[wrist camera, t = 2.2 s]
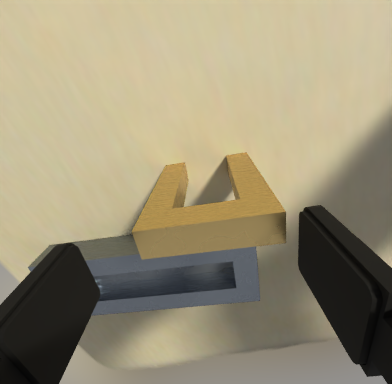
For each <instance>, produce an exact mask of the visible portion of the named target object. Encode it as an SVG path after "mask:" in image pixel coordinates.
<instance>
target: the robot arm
mask: <svg viewBox="0 0 392 384" xmlns="http://www.w3.org/2000/svg"><path fill="white" fill-rule="evenodd" d="M298 266H299V270H300V272H301V274H302V276H303V277H304V279H305V281H306V283H307V284H308V286H309V288H310V289H311V291H312V293H313V295H314V296H315V298H316V300H317V302H318V303H319V305H320V307H321V308H322V310H323V312H324V314H325V315H326V317H327V319H328V321H329V322H330V324H331V326H332V327H333V329H334V331H335V333H336V334H337V336H338V338H339V340H340V341H341V343H342V345H343V347H344V348H345V350H346V352H347V353H348V355H349V357H350V358H351V360H352V361H353V362H354V363H355V364H360V366H361V367H362V369H363V371H364V372H365V374H366V375H367V377H368V376H380V375H382V376H383V377H384V379H385V381H386V382H387V384H392V268H391V267H390V266H389V265H388V264H387V263H385V262H384V261H383V260H382V259H381V258H380V257H379V256H378V255H377V254H375V253H374V252H373V251H372V250H371V249H370V248H369V247H368V246H367V245H365V244H364V243H363V242H362V241H361V240H360V239H359V238H357V237H356V236H355V235H354V234H353V233H352V232H350V231H349V230H348V229H347V228H346V227H345V226H344V225H343V224H342V223H340V222H339V221H338V220H337V219H336V218H335V217H334V216H333V215H332V214H330V213H329V212H328V211H327V210H326V209H325V208H324V207H323V206H321V205H318V206H311V207H305V208H304V210H303V212H300V214H299V249H298ZM99 298H100V289H99V287H98V285H97V283H96V281H95V279H94V277H93V275H92V273H91V271H90V269H89V267H88V265H87V263H86V261H85V259H84V257H83V255H82V253H81V251H80V249H79V248H78V246H76V245H74V244H73V243H65V244H58V245H56V246H55V247H54V248H53V249H52V250H51V251H50V252H49V253H48V254H47V255H46V256H45V257H44V258H43V260H42V261H41V262H40V263H39V264H38V265H37V266H36V267H35V268H34V269H33V270H32V271H31V272H30V274H29V275H28V276H27V277H26V278H25V279H24V280H23V281H22V282H21V283H20V284H19V285H18V286H17V288H16V289H15V290H14V291H13V292H12V293H11V294H10V295H9V296H8V297H7V298H6V299H5V300H4V302H3V303H2V304H1V305H0V384H59V382H60V380H61V378H62V376H63V374H64V372H65V370H66V367H67V365H68V363H69V361H70V359H71V357H72V355H73V353H74V351H75V349H76V346H77V344H78V342H79V340H80V338H81V336H82V334H83V332H84V330H85V328H86V325H87V323H88V321H89V319H90V317H91V315H92V313H93V311H94V309H95V307H96V304H97V302H98V300H99Z"/></svg>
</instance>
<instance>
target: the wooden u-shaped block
mask: <svg viewBox="0 0 392 384" xmlns="http://www.w3.org/2000/svg"><path fill="white" fill-rule="evenodd" d="M226 158H227V166H228V174H229V178H230V181H231V185H232V188H233V192H234V196H235V199H236V200H231V201H224V202H217V203H210V204H203V205H196V206H189V207H184V202H185V197H186V191H187V186H188V176H187V171H186V166H185V163H178V164H172V165H166V166H165V168H164V170H163V172H162V174H161V176H160V178H159V180H158V182H157V183H156V185H155V187H154V189H153V191H152V193H151V195H150V197H149V199H148V201H147V203H146V205H145V207H144V209H143V211H142V213H141V215H140V216H139V218H138V220H137V222H136V224H135V226H134V228H133V230H132V235H133V237H134V240H135V243H136V245H137V248H138V251H139V254H140V256H141V259H142V260H143V259H152V258H160V257H169V256H178V255H186V254H195V253H203V252H212V251H221V250H229V249H238V248H247V247H255V246H264V245H273V244H281V243H286V211H285V210H284V208H283V207H282V205H281V204H280V202H279V201H278V199H277V198H276V196H275V195H274V193H273V192H272V190H271V189H270V187H269V186H268V184H267V183H266V181H265V180H264V178H263V177H262V175H261V174H260V172H259V171H258V169H257V168H256V166H255V165H254V163H253V162H252V160H251V159H250V157H249V156H248V154H247V153H240V154H234V155H228V156H226Z"/></svg>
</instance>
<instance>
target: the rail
mask: <svg viewBox="0 0 392 384" xmlns="http://www.w3.org/2000/svg"><path fill="white" fill-rule="evenodd" d="M72 243H73V244H74V245H76V246H78V248H79V249H80V251H81V253H82V255H83V257H84V259H85V261H86V263H87V265H88V267H89V269H90V271H91V273H92V275H93V277H94V279H95V281H96V283H97V285H98V287H99V289H100V298H99V300H98V302H97V304H96V307H95V309H94V311H93V313H92V315H103V314H115V313H126V312H137V311H149V310H160V309H171V308H182V307H194V306H205V305H216V304H228V303H239V302H250V301H260V291H259V278H258V265H257V253H256V246H255V247H247V248H238V249H229V250H221V251H212V252H203V253H195V254H186V255H178V256H169V257H160V258H152V259H143V260H142V259H141V256H140V254H139V251H138V248H137V245H136V243H135V240H134V237H133V235H126V236H118V237H110V238H102V239H95V240H87V241H79V242H72ZM64 244H65V243H64ZM56 245H58V244H56ZM56 245H50V246H49V247H48V248H47V249H46V250H45V251H44V252H43V253H42V254H41V255H40V256H39V257H38V258H37V259H36V260H35V261H34V262H33V263H32V264H31V265H30V266H29V267H28V268H29V270H30V271H32V270H33V269H34V268H35V267H36V266H37V265H38V264H39V263H40V262H41V261H42V260H43V258H44V257H45V256H46V255H47V254H48V253H49V252H50V251H51V250H52V249H53V248H54V247H55V246H56ZM92 315H91V316H92Z"/></svg>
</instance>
